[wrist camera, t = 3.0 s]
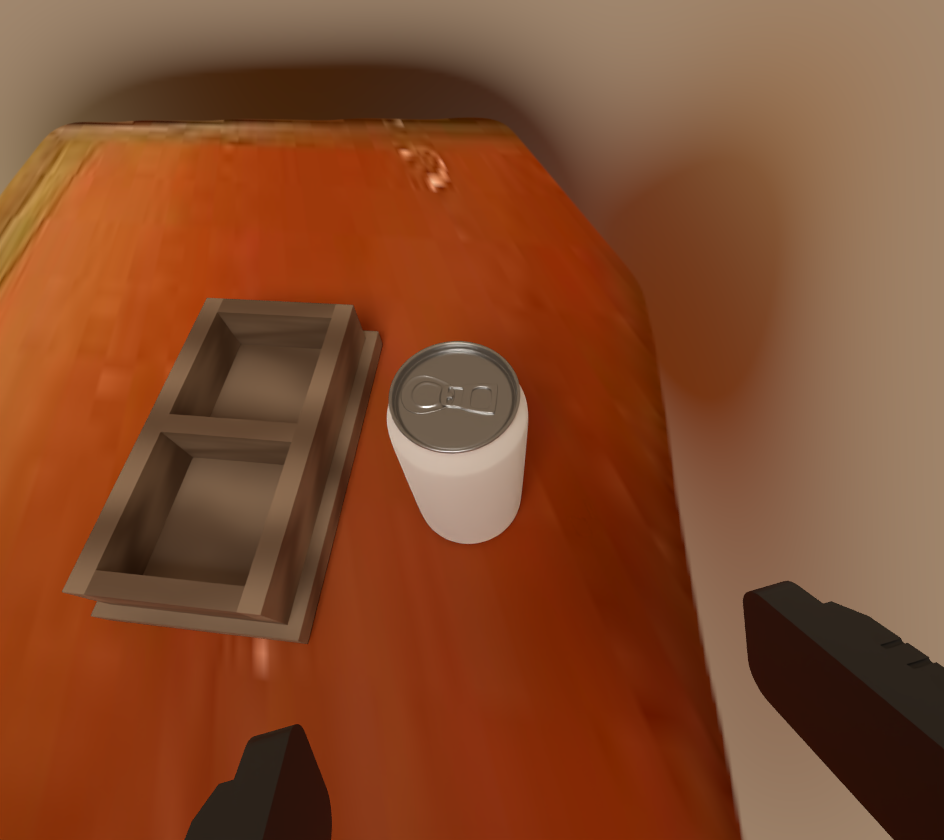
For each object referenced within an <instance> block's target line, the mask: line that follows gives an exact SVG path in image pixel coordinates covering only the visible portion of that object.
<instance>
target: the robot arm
mask: <svg viewBox="0 0 944 840" xmlns="http://www.w3.org/2000/svg"><path fill="white" fill-rule="evenodd" d="M743 608H744V619H745V631H746V642H747V653H748V662H749V667H750V670H751V673H752V676H753V678H754V680H755V682H756V684H757V686H758V688H759V689H760V691H761V693H762V694H763V695H764V697H765V698H766V699H767V701H768V702H769V703H770V704H771V705H772V706H773V707H774V708H775V709H776V711H777V712H778V713H779V714H780V715H781V716H782V717H783V718H784V719H785V720H786V721H787V723H788V724H789V725H790V726H791V727H792V728H793V729H794V730H795V731H796V733H797V734H798V735H799V736H800V737H801V738H802V739H803V740H804V741H805V742H806V743H807V745H808V746H809V747H810V748H811V749H812V750H813V751H814V752H815V753H816V755H817V756H818V757H819V758H820V759H821V760H822V761H823V762H824V763H825V764H826V766H827V767H828V768H829V769H830V770H831V771H832V772H833V773H834V774H835V775H836V777H837V778H838V779H839V780H840V781H841V782H842V783H843V784H844V785H845V786H846V788H847V789H848V790H849V791H850V792H851V793H852V794H853V795H854V796H855V798H856V799H857V800H858V801H859V802H860V803H861V804H862V805H863V806H864V807H865V809H866V810H867V811H868V812H869V813H870V814H871V815H872V816H873V817H874V818H875V819H876V821H878V823H879V824H880V825H881V826H882V827H883V828H884V829H885V831H886V832H887V833H888V834H889V835H890V836H891V837H892V838H893V839H894V840H944V667H942V666H941V665H940V664H938V663H937V662H936V663H932V662H931V661H930V659H929V657H928V656H926V655H925V654H923V653H922V652H920V651H919V650H918V649H916V648H914V647H913V646H912V645H910V644H909V643H906V644H905V643H903V642H902V640H901V638H900V637H898V636H897V635H895V634H894V633H893V632H891V631H890V630H888V629H887V628H885V627H884V626H882V625H881V624H879V623H878V622H876V621H875V620H873V619H872V618H871V617H869V616H867V615H864V614H862V613H859V612H856V611H854V610H852V609H849V608H847V607H844V606H842V605H839V604H837V603H834V602H828V603H824V604H823V603H821V602H820V601H819V600H817V599H816V598H814V597H813V596H812V595H810V594H809V593H808V592H806V591H805V590H803V589H802V588H801V587H799V586H798V585H796V584H795V583H793V582H790V581H783V582H780V583H777V584H773V585H770V586H766V587H763V588H759V589H756V590H753V591H749V592H747V593H746V594H745V595H744V598H743ZM331 831H332V817H331V806H330V800H329V795H328V791H327V788H326V786H325V783H324V781H323V778H322V775H321V773H320V770H319V768H318V765H317V762H316V760H315V757H314V755H313V752H312V750H311V747H310V744H309V742H308V739H307V737H306V734H305V732H304V730H303V728H302V727H301V726H300V725H299V724H295V725H292V726H289V727H285V728H282V729H278V730H275V731H271V732H268V733H264V734H261V735H257V736H254V737H252V738H251V739H250V740H249V741H248V743H247V745H246V747H245V750H244V753H243V756H242V758H241V761H240V764H239V767H238V770H237V773H236V775H235V778H234V780H231V781H228V782H224V783H221V784H218V786H217V787H216V789H215V790H214V791H213V793H212V794H211V796H210V797H209V798H208V800H207V801H206V803H205V804H204V805H203V807H202V808H201V810H200V811H199V812H198V814H197V815H196V817H195V818H194V819H193V821H192V823H191V825H190V828H189V830H188V833H187V835H186V838H185V840H331Z"/></svg>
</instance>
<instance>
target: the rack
mask: <svg viewBox="0 0 944 840" xmlns="http://www.w3.org/2000/svg"><path fill="white" fill-rule="evenodd" d="M381 348H382V341H381V338H380V335H379V332H378V331H363V330H362V327H361V325H360V322H359V319H358V316H357V314H356V311H355V308H354V306H353V305H342V304H322V303H301V302H281V301H260V300H240V299H219V298H207V299H206V301H205V303H204V305H203V307H202V309H201V311H200V313H199V315H198V317H197V319H196V321H195V323H194V325H193V327H192V329H191V331H190V333H189V335H188V337H187V339H186V342H185V344H184V346H183V348H182V350H181V352H180V354H179V356H178V358H177V360H176V362H175V364H174V366H173V368H172V370H171V372H170V374H169V376H168V378H167V380H166V382H165V384H164V386H163V388H162V390H161V392H160V394H159V396H158V398H157V400H156V402H155V404H154V406H153V408H152V410H151V412H150V414H149V416H148V419H147V421H146V423H145V425H144V427H143V429H142V431H141V433H140V435H139V437H138V439H137V441H136V443H135V445H134V447H133V449H132V451H131V453H130V455H129V457H128V459H127V461H126V463H125V465H124V467H123V469H122V471H121V473H120V475H119V477H118V479H117V481H116V483H115V485H114V487H113V489H112V491H111V493H110V495H109V498H108V500H107V502H106V504H105V506H104V508H103V510H102V512H101V514H100V516H99V518H98V520H97V522H96V524H95V526H94V528H93V530H92V532H91V534H90V536H89V538H88V540H87V542H86V544H85V546H84V548H83V550H82V552H81V554H80V556H79V558H78V560H77V562H76V564H75V566H74V568H73V570H72V572H71V574H70V577H69V579H68V581H67V583H66V585H65V587H64V589H63V591H62V592H64V593H67V594H71V595H75V596H79V597H83V598H87V599H91V600H95V601H97V603H96V605H95V607H94V610H93V612H92V614H91V616H93V617H98V618H102V619H107V620H113V621H122V622H130V623H138V624H147V625H155V626H163V627H172V628H180V629H188V630H197V631H205V632H213V633H222V634H230V635H238V636H247V637H255V638H263V639H272V640H280V641H288V642H297V643H305V644H308V641H309V637H310V633H311V629H312V625H313V621H314V617H315V613H316V609H317V605H318V601H319V597H320V593H321V589H322V585H323V581H324V577H325V573H326V569H327V565H328V561H329V557H330V553H331V549H332V545H333V541H334V537H335V533H336V529H337V525H338V521H339V517H340V513H341V509H342V505H343V501H344V497H345V493H346V489H347V485H348V481H349V477H350V473H351V469H352V465H353V461H354V457H355V453H356V449H357V445H358V441H359V437H360V433H361V429H362V425H363V421H364V417H365V413H366V409H367V405H368V401H369V397H370V392H371V388H372V384H373V380H374V376H375V372H376V368H377V364H378V360H379V356H380V352H381Z"/></svg>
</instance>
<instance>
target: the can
mask: <svg viewBox="0 0 944 840" xmlns="http://www.w3.org/2000/svg"><path fill="white" fill-rule="evenodd" d="M387 427H388V432H389V436H390V439H391V442H392V445H393V447H394V450H395V452H396V455H397V457H398V460H399V462H400V465H401V467H402V469H403V472H404V474H405V476H406V479H407V481H408V484H409V486H410V488H411V491H412V493H413V495H414V498H415V500H416V502H417V505H418V507H419V509H420V511H421V513H422V515H423V517H424V519H425V521H426V522H427V524H428V525H429V526H430V527H431V528H432V529H433V530H434V531H435V532H436V533H437V534H439V535H440V536H442V537H444V538H445V539H448V540H450V541H453V542H457V543H463V544H474V543H480V542H484V541H487V540H490V539H492V538H494V537H496V536H497V535H499V534H500V533H502V532H503V531H504V530H505V529H506V528H507V527H508V526H509V525H510V524H511V522H512V521H513V520H514V518H515V516H516V514H517V512H518V509H519V506H520V501H521V494H522V485H523V475H524V465H525V454H526V442H527V430H528V408H527V402H526V398H525V395H524V392H523V390H522V388H521V386H520V385H519V382H518V379H517V376H516V374H515V372H514V370H513V368H512V367H511V366H510V364H509V363H508V362H507V361H506V360H505V359H504V358H503V357H502V356H501V355H499V354H498V353H497V352H495V351H493V350H492V349H490V348H488V347H485V346H483V345H480V344H476V343H472V342H464V341H452V342H444V343H439V344H435V345H432V346H430V347H427V348H425V349H423V350H421V351H419V352H418V353H416V354H415V355H413V356H412V357H411V358H409V359H408V360H407V361H406V362H405V363H404V364H403V365H402V366H401V368H400V369H399V370H398V372H397V373H396V375H395V377H394V379H393V381H392V384H391V387H390V391H389V405H388V410H387Z"/></svg>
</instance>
